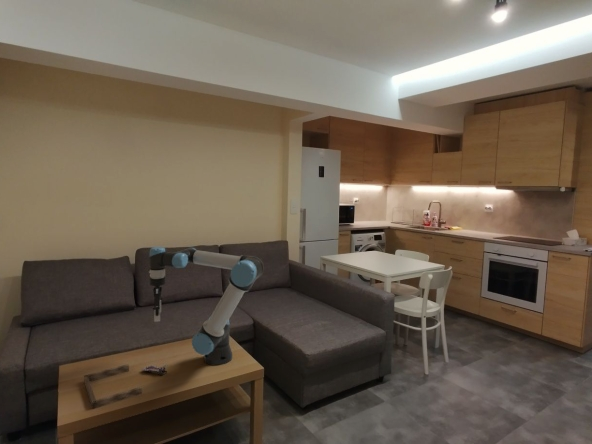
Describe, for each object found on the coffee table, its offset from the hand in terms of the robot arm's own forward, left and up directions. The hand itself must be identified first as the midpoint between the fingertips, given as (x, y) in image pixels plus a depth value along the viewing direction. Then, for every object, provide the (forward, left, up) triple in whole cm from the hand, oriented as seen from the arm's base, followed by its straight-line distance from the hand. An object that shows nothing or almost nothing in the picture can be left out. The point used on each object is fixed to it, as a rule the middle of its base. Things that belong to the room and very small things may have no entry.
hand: (157, 316), depth 185 cm
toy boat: (-7, +10, -28) cm, 30 cm away
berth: (+7, +25, -26) cm, 36 cm away
